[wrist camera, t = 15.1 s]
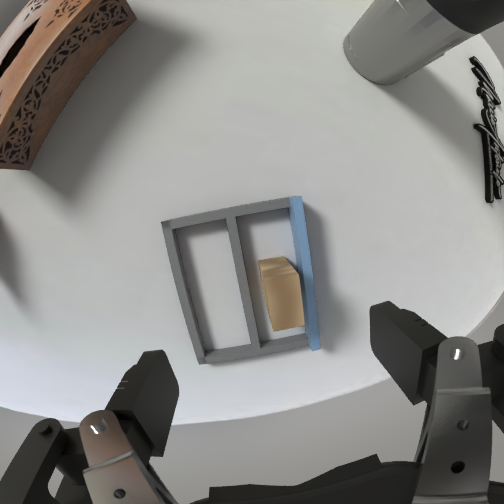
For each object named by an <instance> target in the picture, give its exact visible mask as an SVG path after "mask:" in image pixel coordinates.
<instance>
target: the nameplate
mask: <svg viewBox="0 0 504 504" xmlns="http://www.w3.org/2000/svg"><path fill="white" fill-rule="evenodd" d="M469 60H470V62H471V63H472V64H473V65H475V66H476V67H474V68H471V70H472V72H473V73H474V74H475V76H476V77H477V78H478V79H479V80H480V81H479V82H478V84H479V86H480V87H478V88H477V90H476V92H477V95H478V96H481V97H482V99H483V106H484V109H482V110H481V116H482V119H483V122H484V124H485V126H486V127H485V126H484V125H482V124H479V123H478V124H474V125H473V127H474V128H475V129H477V130H478V131H480V132H481V135H482V143H483V154H484V168H485V200H486V202H487V203H493V201H494V196H495V198H496V199H500V200H501V199H502V196H501V188H500V187H501V185H504V180H503V179H502V178H501V176H500V170H501V167H502V164H503V163H504V159H503V157H504V146H503V144H502V143H501V141H500V139H499V138H498V135H497V130H496V122H497V119H496V117H494V111H493V110H494V109H495V105H499V104H501V102H500V99H499V97H498V95H497V94H496V92H495V87H494V84H493V82H492V80H491V78H490V76H489V74H488V73H487V71H486V70H485V68H484V67H483V65H482V64H481V63H480V61H479V60H478V59H477V58H476V57H474V56H473V57H471V58H469ZM493 103H494V104H495V105H494V104H493Z"/></svg>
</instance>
